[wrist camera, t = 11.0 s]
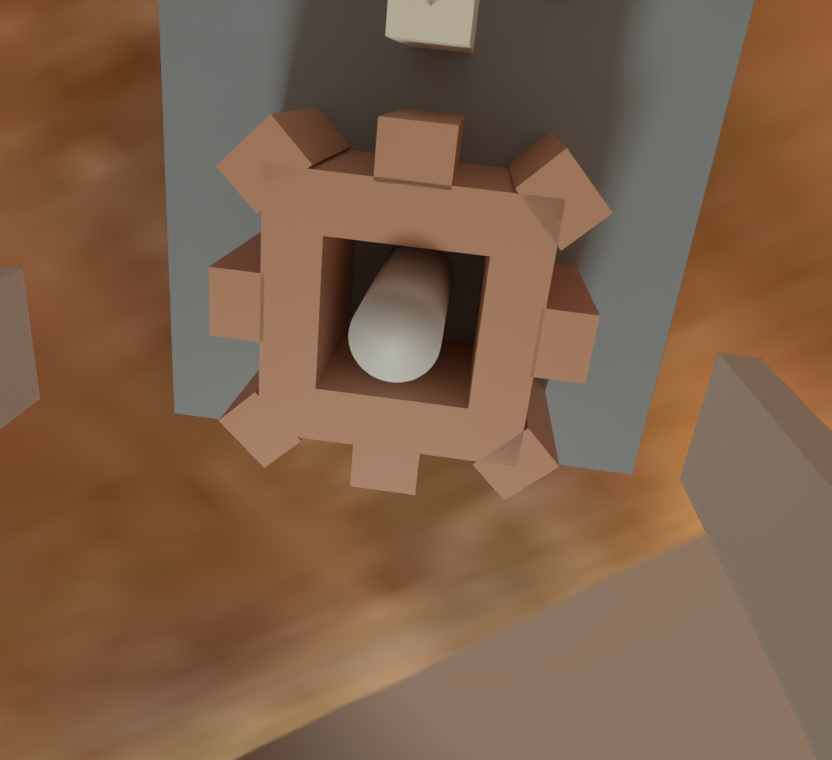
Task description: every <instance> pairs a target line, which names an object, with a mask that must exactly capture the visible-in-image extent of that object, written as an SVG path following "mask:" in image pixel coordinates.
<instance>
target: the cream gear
mask: <svg viewBox="0 0 832 760" xmlns="http://www.w3.org/2000/svg"><path fill="white" fill-rule="evenodd" d="M479 4H480V0H388V5H387V18H386V31H385V36H386V37H388V38H391V39H393V40H395V41H398V42H400V43H402V44H404V45H407V46H409V47H418V48H427V49H436V50H445V51H455V52H464V53H474V45H475V36H476V28H477V20H478V12H479Z"/></svg>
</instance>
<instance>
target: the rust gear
mask: <svg viewBox="0 0 832 760" xmlns="http://www.w3.org/2000/svg"><path fill="white" fill-rule="evenodd" d="M464 120H465V115H458V114H449V113H440V112H432V111H423V110H414V109H405V108H402V109H399V110H396V111H393V112H390V113H387V114H384V115H380V116H378V124H377V137H376V150H375V153H374V152H365V151H356V150H348V148H349V147H350V145H349V143H348V142H347V141H346V140H345V138H344V137H343V136H342V135H341V133H340V132H339V131H338V130H337V128H336V127H335V126H334V125H333V123H332V122H331V121H330V120H329V118H328V117H327V116H326V115H325V113H324V112H323V111H322V110H321V108H320V107H313V108H306V109H300V110H293V111H287V112H281V113H274V114H270V115H269V116H268V117H267V118H266V119H265V120H264V121H263V122H262V123H261V124H260V125H259V126H257V127H256V128H255V129H254V130H253V131H252V132H251V133H250V134H249V135H248V136H247V137H246V138H245V139H244V140H243V141H242V142H241V143H240V144H239V145H237V146H236V147H235V148H234V149H233V150H232V151H231V152H230V153H229V154H228V155H227V156H226V157H225V158H224V159H223V160H222V161H221V162H220V163H218V164H217V165H216V167H217V168H218V169H219V171H220V172H221V173H222V174H223V175H224V176H225V177H226V179H227V180H228V181H229V182H230V183H231V184H232V186H233V187H234V188H235V189H236V190H237V191H238V193H239V194H240V195H241V196H242V197H243V198H244V200H245V201H246V202H247V203H248V204H249V205H250V206H251V208H252V209H253V210H254V211H255V212H256V213H257V214H258V213H260V212H261V232H260V233H258V234H257V235H255V236H254V237H252V238H251V239H249V240H248V241H246V242H245V243H243V244H242V245H240V246H239V247H237V248H236V249H234V250H233V251H231V252H230V253H228V254H227V255H225V256H224V257H222V258H221V259H219V260H218V261H216V262H215V263H213V264H212V265H210V266H209V328H210V336H218V337H225V338H233V339H241V340H249V341H256V342H259V370H258V371H257V372H256V374H255V375H254V376H253V378H252V379H251V380H250V381H249V383H248V384H247V385H246V386H245V388H244V389H243V390H242V392H241V393H240V394H239V395H238V397H237V398H236V399H235V400H234V402H233V403H232V404H231V405H230V407H229V408H228V409H227V411H226V412H225V413H224V414H223V416H222V417H221V418H220V419H219V422H220V423H221V424H222V425H223V426H224V427H225V428H226V429H227V430H228V431H229V432H230V433H231V434H232V435H233V436H234V437H235V438H236V439H237V440H238V441H239V442H240V443H241V444H242V445H243V446H244V447H245V448H246V450H247V451H248V452H249V453H250V454H251V455H252V456H253V457H254V458H255V459H256V460H257V461H258V462H259V463H260V464H261V465H262V466H263V467H264V468H265V467H266V466H267V465H269V464H270V463H271V462H273V461H274V460H276V459H277V458H278V457H280V456H281V455H282V454H284V453H285V452H286V451H288V450H289V449H291V448H292V447H293V446H295V445H296V444H297V443H299V442H300V441H301V440H302V438H307V439H314V440H322V441H329V442H337V443H344V444H351V445H353V457H352V470H351V483H350V486H353V487H360V488H367V489H375V490H382V491H389V492H397V493H404V494H411V495H415V492H416V487H417V481H418V475H419V469H420V463H421V458H422V454H426V455H433V456H440V457H448V458H455V459H463V460H470V461H473V465H474V466H475V467H476V469H477V470H478V471H479V472H480V473H481V474H482V476H483V477H484V478H485V479H486V480H487V481H488V483H489V484H490V485H491V486H492V487H493V488H494V490H495V491H496V492H497V493H498V494H499V495H500V496H501V498H502V499H503V500H506V499H508V498H509V497H511V496H512V495H514V494H516V493H517V492H519V491H521V490H522V489H524V488H525V487H527V486H529V485H530V484H532V483H533V482H535V481H537V480H538V479H540V478H542V477H543V476H545V475H546V474H548V473H550V472H551V471H553V470H555V469H556V468H558V467H559V461H558V456H557V451H556V445H555V440H554V435H553V430H552V424H551V419H550V414H549V409H548V403H547V398H546V393H545V390H544V388H543V387H542V386H541V385H540V383H539V382H538V381H537V379H536V378H543V379H551V380H559V381H567V382H574V383H582V384H585V383H586V379H587V374H588V370H589V365H590V360H591V356H592V351H593V346H594V342H595V337H596V332H597V328H598V323H599V319H600V314H599V312H598V310H597V308H596V306H595V304H594V302H593V300H592V298H591V296H590V294H589V292H588V289H587V287H586V285H585V283H584V281H583V279H582V277H581V275H580V273H579V271H578V269H577V267H576V265H567V264H559V263H554V262H555V257H556V251H557V246H558V247H559V249H560V250H563V249H564V248H566V247H567V246H568V245H570V244H571V243H572V242H574V241H575V240H577V239H578V238H579V237H581V236H582V235H583V234H585V233H586V232H587V231H589V230H590V229H592V228H593V227H594V226H596V225H597V224H598V223H600V222H601V221H602V220H604V219H605V218H607V217H608V216H609V215H611V214H612V211H611V210H610V208H609V207H608V206H607V204H606V203H605V201H604V200H603V198H602V197H601V196H600V194H599V193H598V191H597V190H596V189H595V187H594V186H593V184H592V183H591V181H590V180H589V179H588V177H587V176H586V174H585V173H584V171H583V170H582V169H581V167H580V166H579V164H578V163H577V162H576V160H575V159H574V157H573V156H572V154H571V153H570V152H569V150H568V149H567V148H566V147H565V146H564V145H563V144H562V143H560V142H559V141H558V140H557V139H556V138H554V137H553V136H552V135H551V134H550V133H547V134H546V135H545V136H544V137H542V138H541V139H540V140H539V141H537V142H536V143H535V144H534V145H532V146H531V147H530V148H529V149H527V150H526V151H525V152H524V153H522V154H521V155H520V156H519V157H517V158H516V159H515V160H514V161H512V162H511V163H510V164H509V168H503V167H494V166H486V165H477V164H468V163H460V153H461V145H462V137H463V129H464ZM355 240H360V241H368V242H377V243H385V244H393V245H401V246H409V247H418V248H426V249H434V250H442V251H450V252H459V253H467V254H475V255H483V256H484V261H483V268H482V275H481V282H480V289H479V296H478V303H477V310H476V317H475V324H474V331H473V339H472V343H470V342H462V341H454V340H446V339H442V343H441V349H440V353H439V355H438V358H437V360H436V362H435V363H434V364H433V366H432V367H431V368H430V369H429V370H428V371H427V372H426V373H425V374H423V375H422V376H420V377H418V378H416V379H414V380H411V381H407V382H398V383H396V382H387V381H383V380H380V379H377V378H375V377H373V376H372V375H370V374H368V373H367V372H366V371H365V370H363V369H362V368H361V367H360V366H359V364H358V363H357V362H356V360H355V358H354V357H353V355H352V352H351V350H350V346H349V340H348V333H349V327H350V314H351V299H352V284H353V269H354V255H355ZM535 377H536V378H535Z"/></svg>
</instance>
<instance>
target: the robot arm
mask: <svg viewBox="0 0 832 760" xmlns="http://www.w3.org/2000/svg"><path fill="white" fill-rule="evenodd" d="M39 399H40V395H39V387H38V380H37V372H36V365H35V358H34V350H33V343H32V335H31V328H30V320H29V313H28V306H27V298H26V291H25V283H24V276H23V268H14V267H6V266H0V429H1V428H2V427H4V426H5V425H6V424H7V423H9V422H10V421H11V420H13V419H14V418H15V417H17V416H18V415H19V414H21V413H22V412H23V411H24V410H26V409H27V408H28V407H30V406H31V405H32V404H34V403H35V402H36V401H37V400H39ZM680 480H681V482H682V484H683V487H684V489H685V491H686V493H687V495H688V497H689V499H690V501H691V503H692V505H693V507H694V509H695V511H696V513H697V515H698V517H699V519H700V521H701V523H702V525H703V527H704V529H705V531H706V533H707V535H708V538H709V539H710V542H711V544H712V546H713V548H714V550H715V552H716V554H717V556H718V558H719V560H720V562H721V564H722V566H723V568H724V570H725V572H726V574H727V576H728V578H729V580H730V582H731V584H732V586H733V589H734V591H735V593H736V594H737V597H738V599H739V601H740V603H741V605H742V607H743V609H744V611H745V613H746V615H747V617H748V619H749V621H750V623H751V625H752V627H753V629H754V631H755V633H756V635H757V637H758V640H759V642H760V643H761V646H762V648H763V650H764V652H765V654H766V656H767V658H768V660H769V662H770V664H771V666H772V668H773V670H774V672H775V674H776V676H777V678H778V680H779V682H780V684H781V686H782V688H783V690H784V693H785V695H786V696H787V699H788V701H789V703H790V705H791V707H792V709H793V711H794V713H795V715H796V717H797V719H798V721H799V723H800V725H801V727H802V729H803V731H804V733H805V735H806V737H807V739H808V741H809V743H810V746H811V748H812V749H813V752H814V753H815V756H816V758H817V760H832V432H831V431H830V430H829V429H828V428H827V426H826V425H825V424H824V423H823V422H822V421H821V420H820V419H819V418H818V417H817V416H816V415H815V414H814V413H813V412H812V411H811V410H810V409H809V408H808V407H807V406H806V405H805V404H804V403H803V402H802V401H801V400H800V399H799V398H798V396H797V395H796V394H795V393H794V392H793V391H792V390H791V389H790V388H789V387H788V386H787V385H786V384H785V383H784V382H783V381H782V380H781V379H780V378H779V377H778V376H777V375H776V374H775V373H774V372H773V371H772V370H771V369H770V367H769V366H768V365H767V364H766V363H765V362H764V361H763V360H762V359H761V358H758V357H750V356H742V355H733V354H725V353H718V355H717V358H716V362H715V365H714V368H713V372H712V375H711V378H710V382H709V385H708V388H707V392H706V395H705V398H704V402H703V405H702V408H701V412H700V415H699V418H698V422H697V425H696V428H695V432H694V435H693V438H692V442H691V445H690V448H689V452H688V455H687V458H686V462H685V465H684V468H683V472H682V475H681V478H680Z"/></svg>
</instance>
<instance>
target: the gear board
mask: <svg viewBox="0 0 832 760" xmlns="http://www.w3.org/2000/svg"><path fill="white" fill-rule="evenodd" d="M158 1H159V26H160V52H161V78H162V104H163V129H164V155H165V181H166V207H167V233H168V258H169V284H170V310H171V336H172V361H173V387H174V413H178V414H185V415H193V416H200V417H208V418H215V419H220V418H221V417H222V416H223V414H224V413H225V412H226V411H227V409H228V408H229V407H230V405H231V404H232V403H233V402H234V400H235V399H236V398H237V397H238V395H239V394H240V393H241V392H242V390H243V389H244V388H245V386H246V385H247V384H248V383H249V381H250V380H251V379H252V378H253V376H254V375H255V374H256V372H257V371H258V370H259V342H256V341H249V340H241V339H233V338H225V337H218V336H210V328H209V266H210V265H212V264H213V263H215V262H216V261H218V260H219V259H221V258H222V257H224V256H225V255H227V254H228V253H230V252H231V251H233V250H234V249H236V248H237V247H239V246H240V245H242V244H243V243H245V242H246V241H248V240H249V239H251V238H252V237H254V236H255V235H257V234H258V233H260V232H261V212H260V213H258V214H257V213H256V212H255V211H254V210H253V209H252V208H251V206H250V205H249V204H248V203H247V202H246V201H245V200H244V198H243V197H242V196H241V195H240V194H239V193H238V191H237V190H236V189H235V188H234V187H233V186H232V184H231V183H230V182H229V181H228V180H227V179H226V177H225V176H224V175H223V174H222V173H221V172H220V171H219V169H218V168H217V167H216V165H217V164H218V163H220V162H221V161H222V160H223V159H224V158H225V157H226V156H227V155H228V154H229V153H230V152H231V151H232V150H233V149H234V148H235V147H236V146H237V145H239V144H240V143H241V142H242V141H243V140H244V139H245V138H246V137H247V136H248V135H249V134H250V133H251V132H252V131H253V130H254V129H255V128H256V127H257V126H259V125H260V124H261V123H262V122H263V121H264V120H265V119H266V118H267V117H268V116H269V115H270V114H274V113H281V112H287V111H293V110H300V109H306V108H313V107H320V108H321V110H322V111H323V112H324V113H325V115H326V116H327V117H328V118H329V120H330V121H331V122H332V123H333V125H334V126H335V127H336V128H337V130H338V131H339V132H340V133H341V135H342V136H343V137H344V138H345V140H346V141H347V142H348V143H349V145H350V147H349V148H348V150H356V151H365V152H374V153H375V150H376V137H377V124H378V116H380V115H384V114H387V113H390V112H393V111H396V110H399V109H402V108H405V109H414V110H423V111H432V112H440V113H449V114H458V115H465V120H464V129H463V137H462V145H461V153H460V163H468V164H477V165H486V166H494V167H503V168H509V164H510V163H511V162H512V161H514V160H515V159H516V158H517V157H519V156H520V155H521V154H522V153H524V152H525V151H526V150H527V149H529V148H530V147H531V146H532V145H534V144H535V143H536V142H537V141H539V140H540V139H541V138H542V137H544V136H545V135H546V134H547V133H550V134H551V135H552V136H553V137H554V138H556V139H557V140H558V141H559V142H560V143H562V144H563V145H564V146H565V147H566V148H567V149H568V150H569V152H570V153H571V154H572V156H573V157H574V159H575V160H576V162H577V163H578V164H579V166H580V167H581V169H582V170H583V171H584V173H585V174H586V176H587V177H588V179H589V180H590V181H591V183H592V184H593V186H594V187H595V189H596V190H597V191H598V193H599V194H600V196H601V197H602V198H603V200H604V201H605V203H606V204H607V206H608V207H609V208H610V210H611V211H612V214H611V215H609V216H608V217H607V218H605V219H604V220H602V221H601V222H600V223H598V224H597V225H596V226H594V227H593V228H592V229H590V230H589V231H587V232H586V233H585V234H583V235H582V236H581V237H579V238H578V239H577V240H575V241H574V242H572V243H571V244H570V245H568V246H567V247H566V248H564V249H563V250H560V249H559V247H558V246H557V251H556V257H555V262H554V263H559V264H567V265H576V267H577V269H578V271H579V273H580V275H581V277H582V279H583V281H584V283H585V285H586V287H587V289H588V292H589V294H590V296H591V298H592V300H593V302H594V304H595V306H596V308H597V310H598V312H599V314H600V319H599V323H598V328H597V332H596V337H595V342H594V346H593V351H592V356H591V360H590V365H589V370H588V374H587V379H586V383H585V384H582V383H574V382H567V381H559V380H551V379H543V378H536V377H535V378H536V379H537V381H538V382H539V383H540V385H541V386H542V387H543V388H544V390H545V393H546V398H547V403H548V409H549V414H550V419H551V424H552V430H553V435H554V440H555V445H556V451H557V456H558V461H559V465H566V466H573V467H580V468H588V469H595V470H603V471H610V472H618V473H625V474H632V472H633V468H634V464H635V460H636V456H637V452H638V449H639V445H640V441H641V437H642V433H643V429H644V425H645V421H646V418H647V414H648V410H649V406H650V402H651V398H652V394H653V391H654V387H655V383H656V379H657V375H658V371H659V367H660V363H661V360H662V356H663V352H664V348H665V344H666V340H667V336H668V333H669V329H670V325H671V321H672V317H673V313H674V309H675V305H676V302H677V298H678V294H679V290H680V286H681V282H682V278H683V274H684V271H685V267H686V263H687V259H688V255H689V251H690V247H691V244H692V240H693V236H694V232H695V228H696V224H697V220H698V216H699V213H700V209H701V205H702V201H703V197H704V193H705V189H706V186H707V182H708V178H709V174H710V170H711V166H712V162H713V158H714V155H715V151H716V147H717V143H718V139H719V135H720V131H721V128H722V124H723V120H724V116H725V112H726V108H727V104H728V100H729V97H730V93H731V89H732V85H733V81H734V77H735V73H736V70H737V66H738V62H739V58H740V54H741V50H742V46H743V42H744V39H745V35H746V31H747V27H748V23H749V19H750V15H751V11H752V8H753V4H754V0H480V4H479V12H478V20H477V28H476V36H475V45H474V53H464V52H455V51H445V50H436V49H427V48H418V47H409V46H407V45H404V44H402V43H400V42H398V41H395V40H393V39H391V38H388V37H386V36H385V31H386V18H387V5H388V0H158ZM483 261H484V256H483V255H475V254H467V253H459V252H450V251H442V250H434V249H426V248H418V247H409V246H401V245H393V244H385V243H377V242H368V241H360V240H355V255H354V269H353V284H352V299H351V314H350V327H349V333H348V340H349V346H350V350H351V352H352V355H353V357H354V358H355V360H356V362H357V363H358V364H359V366H360V367H361V368H362V369H363V370H365V371H366V372H367V373H368V374H370V375H372V376H373V377H375V378H377V379H380V380H383V381H387V382H396V383H398V382H407V381H411V380H414V379H416V378H418V377H420V376H422V375H423V374H425V373H426V372H427V371H428V370H429V369H430V368H431V367H432V366H433V364H434V363H435V362H436V360H437V358H438V355H439V353H440V349H441V343H442V339H446V340H454V341H462V342H470V343H472V339H473V331H474V324H475V317H476V310H477V303H478V296H479V289H480V282H481V275H482V268H483Z"/></svg>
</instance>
